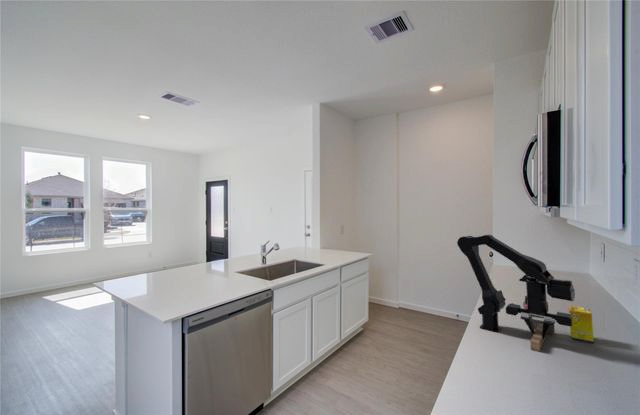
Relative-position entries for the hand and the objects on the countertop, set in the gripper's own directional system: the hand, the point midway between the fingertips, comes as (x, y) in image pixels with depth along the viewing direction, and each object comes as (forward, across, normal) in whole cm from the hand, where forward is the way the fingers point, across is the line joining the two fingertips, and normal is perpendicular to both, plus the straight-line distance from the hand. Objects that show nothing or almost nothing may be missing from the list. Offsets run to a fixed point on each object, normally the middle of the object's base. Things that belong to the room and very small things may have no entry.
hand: (538, 337), depth 99 cm
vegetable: (+2, +6, -30) cm, 31 cm away
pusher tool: (+1, 0, -2) cm, 2 cm away
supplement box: (+2, -11, -13) cm, 17 cm away
